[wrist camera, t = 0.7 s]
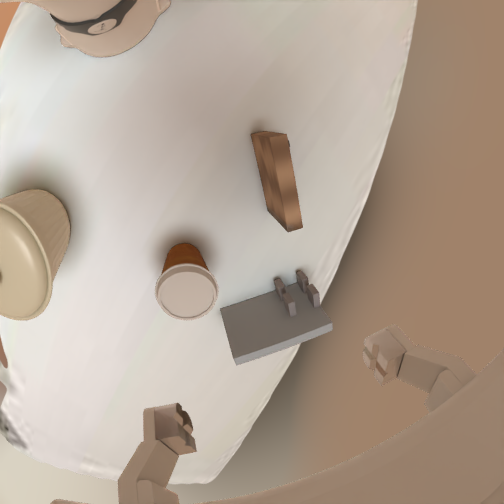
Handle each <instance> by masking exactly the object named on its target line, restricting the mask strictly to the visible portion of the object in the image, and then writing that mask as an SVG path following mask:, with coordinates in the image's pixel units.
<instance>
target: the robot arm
mask: <svg viewBox="0 0 504 504" xmlns="http://www.w3.org/2000/svg"><path fill="white" fill-rule="evenodd" d="M5 2H28V3H32V4H35V5H37V6H39V7H41V8H43V9H44V10H46V11H48V12H49V13H50V15H51V17H52V18H53V20H54V21H55V22H56V23H57V25H56V26H55V29H56V31H57V32H58V33H59V34H60V35H61V44H62V45H63V46H64V47H70V48H77V49H79V50H80V51H82V52H83V53H85V54H87V55H90V56H94V57H109V56H113V55H117V54H120V53H122V52H125V51H127V50H128V49H130V48H132V47H133V46H135V45H136V44H138V43H139V42H140V41H141V40H142V39H143V38H144V37H145V36H146V35H147V34H148V33H149V31H150V30H151V29H152V27H153V25H154V23H155V21H156V19H157V18H158V16H159V15H160V14H162V13H163V12H164V11H165V10H166V9H167V8H168V7H169V6H170V4H171V2H170V0H0V3H5ZM364 344H365V346H366V347H365V349H364V350H363V357H364V361H365V363H366V365H367V366H368V368H369V369H372V370H374V376H375V377H376V379H377V380H378V382H379V383H380V384H381V386H382V385H384V384H386V383H388V382H390V381H391V380H393V379H395V378H397V379H399V380H401V381H403V382H406V383H408V384H410V385H412V386H414V387H416V388H419V389H421V390H423V391H425V392H427V393H429V395H428V397H427V399H426V400H425V403H424V404H425V406H426V408H427V409H428V410H429V412H430V413H429V414H427V415H426V416H424V417H423V418H422V419H420V420H419V421H417V422H416V423H414V424H412V425H411V426H409V427H408V428H406V429H405V430H403V431H402V432H400V433H398V434H396V435H395V436H393V437H392V438H390V439H388V440H386V441H384V442H383V443H381V444H379V445H377V446H375V447H373V448H372V449H370V450H368V451H366V452H364V453H362V454H360V455H358V456H356V457H353V458H351V459H349V460H347V461H345V462H343V463H340V464H338V465H336V466H334V467H331V468H329V469H326V470H324V471H321V472H319V473H316V474H314V475H311V476H309V477H305V478H303V479H300V480H297V481H294V482H291V483H288V484H284V485H281V486H278V487H275V488H271V489H267V490H263V491H260V492H256V493H252V494H247V495H243V496H238V497H233V498H228V499H223V500H216V501H211V502H203V503H195V504H504V349H503V350H502V351H501V352H500V353H499V354H498V355H497V356H496V357H495V358H494V359H493V360H492V361H491V362H490V363H489V364H488V365H487V366H486V367H485V368H484V369H483V370H482V371H481V372H479V373H478V374H476V373H475V372H474V371H473V370H472V369H471V368H470V367H469V366H468V365H467V364H466V362H465V361H464V360H462V358H461V357H458V356H455V355H451V354H448V353H444V352H441V351H438V350H434V349H431V348H428V347H424V346H421V345H417V346H416V345H415V344H414V343H413V342H412V341H411V340H410V339H409V338H408V337H407V336H406V335H405V333H404V332H403V331H402V330H401V329H400V328H399V327H398V326H397V325H395V324H392V325H390V326H388V327H387V328H385V329H382V330H380V331H378V332H376V333H374V334H372V335H370V336H369V337H367V338H365V340H364ZM143 429H144V442H141V443H140V445H139V446H138V448H137V449H136V451H135V453H134V454H133V456H132V458H131V459H130V461H129V463H128V464H127V466H126V468H125V469H124V471H123V473H122V474H121V476H120V477H119V479H118V495H119V504H179V499H178V495H177V494H176V493H174V492H172V491H170V490H168V489H166V486H167V484H168V481H169V479H170V477H171V474H172V472H173V469H174V467H175V465H176V462H177V460H178V457H179V456H178V455H182V454H188V453H193V452H197V451H196V445H195V439H194V438H193V437H192V436H191V433H192V431H193V426H192V422H191V419H190V417H189V415H188V413H187V412H186V411H183V410H182V406H181V405H180V404H179V403H174V404H169V405H164V406H158V407H152V408H146V409H144V412H143ZM51 504H88V503H80V502H73V501H68V500H61V499H56V500H54V501H53V502H52V503H51Z"/></svg>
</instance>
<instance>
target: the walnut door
mask: <svg viewBox="0 0 504 504" xmlns="http://www.w3.org/2000/svg"><path fill="white" fill-rule="evenodd" d="M251 137H252V142H253V146H254V150H255V155H256V159H257V163H258V168H259V172H260V177H261V181H262V186H263V191H264V195H265V200H266V205H267V209H268V212H269V213H270V214H271V215H272V216H273V217H274V218H275V219H276V220H277V221H278V222H279V223H280V224H281V225H282V226H283V228H284V229H285V230H286V231H287V232H291V231H294V230H297V229H300V228H303V225H302V218H301V212H300V206H299V200H298V194H297V188H296V182H295V176H294V171H293V165H292V160H291V154H290V149H289V147H290V144H289V141H288V139H287V134H282V133H275V132H268V131H263V132H258V133H254V134H251Z"/></svg>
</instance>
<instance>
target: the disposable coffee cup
mask: <svg viewBox="0 0 504 504" xmlns="http://www.w3.org/2000/svg"><path fill="white" fill-rule="evenodd" d="M155 296H156V300H157V302H158V304H159V305H160V306H161V308H162V309H163V311H164V312H165V313H167V314H168V315H169V316H171V317H173V318H176V319H180V320H194V319H197V318H200V317H202V316H204V315H206V314H207V313H208V312H209V311H210V310H211V309H212V308H213V306H214V304H215V302H216V300H217V298H218V284H217V281H216V279H215V278H214V276H213V275H212V274H211V273H210V272H209V270H208V268H207V266H206V264H205V262H204V260H203V258H202V256H201V254H200V252H199V250H198V249H197V248H196V247H195V246H193V245H191V244H187V243H182V244H178V245H176V246H174V247H173V248H171V250H170V251H169V253H168V255H167V258H166V262H165V265H164V268H163V271H162V274H161V276H160V277H159V279H158V280H157V283H156V286H155Z"/></svg>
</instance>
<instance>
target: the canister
mask: <svg viewBox="0 0 504 504" xmlns="http://www.w3.org/2000/svg"><path fill="white" fill-rule="evenodd" d="M69 237H70V222H69V219H68V215H67V213H66V210H65V209H64V206H63V205H62V204H61V202H60V201H59V200H58V199H57V198H56V197H55V196H53V195H52V194H50V193H48V192H47V191H44V190H38V189H33V190H32V189H31V190H26V191H22V192H19V193H16V194H13V195H10V196H7V197H5V198H2V199H0V315H2V316H4V317H7V318H10V319H14V320H30V319H33V318H35V317H37V316H39V315H40V314H41V313H42V312H43V311H44V310H45V309H46V307H47V305H48V303H49V301H50V298H51V294H52V286H53V280H54V278H55V276H56V273H57V271H58V269H59V266H60V264H61V262H62V259H63V257H64V254H65V252H66V250H67V246H68V243H69Z"/></svg>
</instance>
